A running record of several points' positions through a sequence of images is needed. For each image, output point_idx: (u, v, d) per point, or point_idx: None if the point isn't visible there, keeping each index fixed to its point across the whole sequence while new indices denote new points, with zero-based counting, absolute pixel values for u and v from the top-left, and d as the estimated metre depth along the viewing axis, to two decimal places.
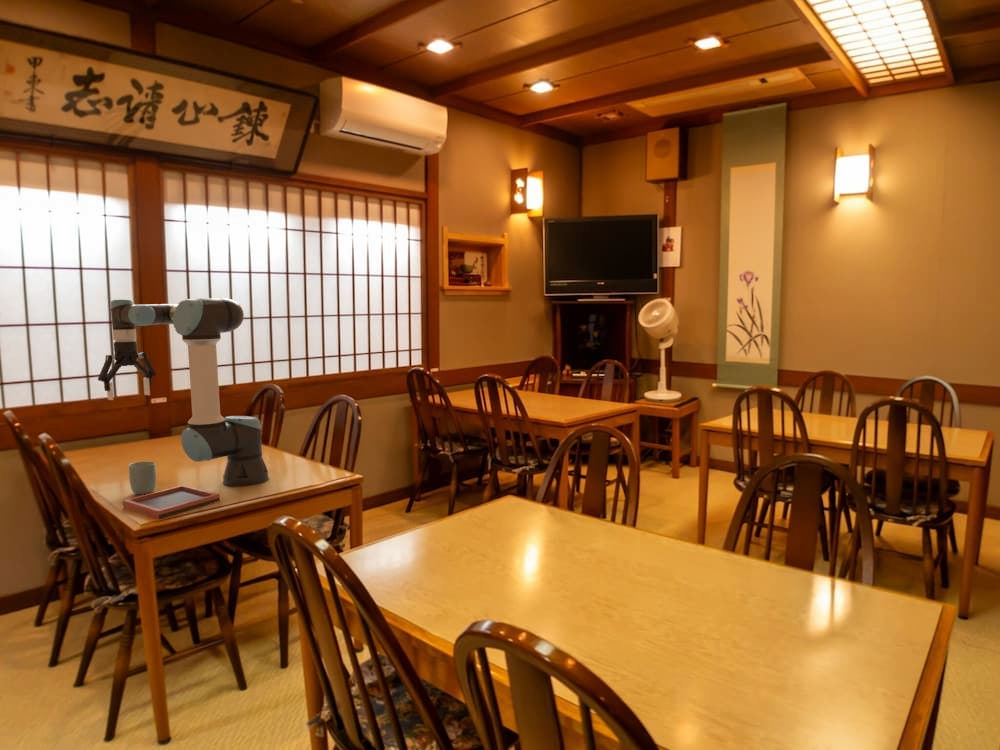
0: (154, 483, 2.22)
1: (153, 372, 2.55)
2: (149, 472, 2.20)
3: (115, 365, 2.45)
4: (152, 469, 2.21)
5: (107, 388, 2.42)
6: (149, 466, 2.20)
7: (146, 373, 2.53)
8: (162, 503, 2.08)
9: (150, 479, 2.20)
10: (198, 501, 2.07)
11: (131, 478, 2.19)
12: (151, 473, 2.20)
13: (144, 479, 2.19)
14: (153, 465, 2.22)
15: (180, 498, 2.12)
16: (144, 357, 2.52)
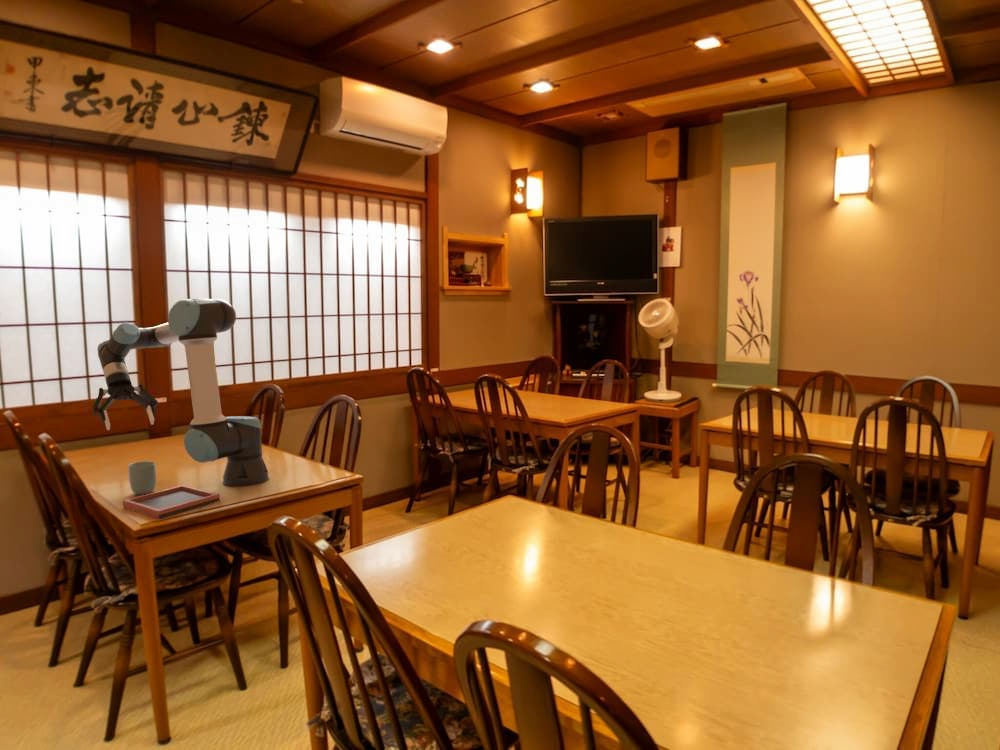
0: (154, 483, 2.22)
1: (154, 400, 2.37)
2: (149, 472, 2.20)
3: None
4: (152, 469, 2.21)
5: (102, 416, 2.24)
6: (149, 466, 2.20)
7: (146, 401, 2.35)
8: (162, 503, 2.08)
9: (150, 479, 2.20)
10: (198, 501, 2.07)
11: (131, 478, 2.19)
12: (151, 473, 2.20)
13: (144, 479, 2.19)
14: (153, 465, 2.22)
15: (180, 498, 2.12)
16: (141, 388, 2.38)
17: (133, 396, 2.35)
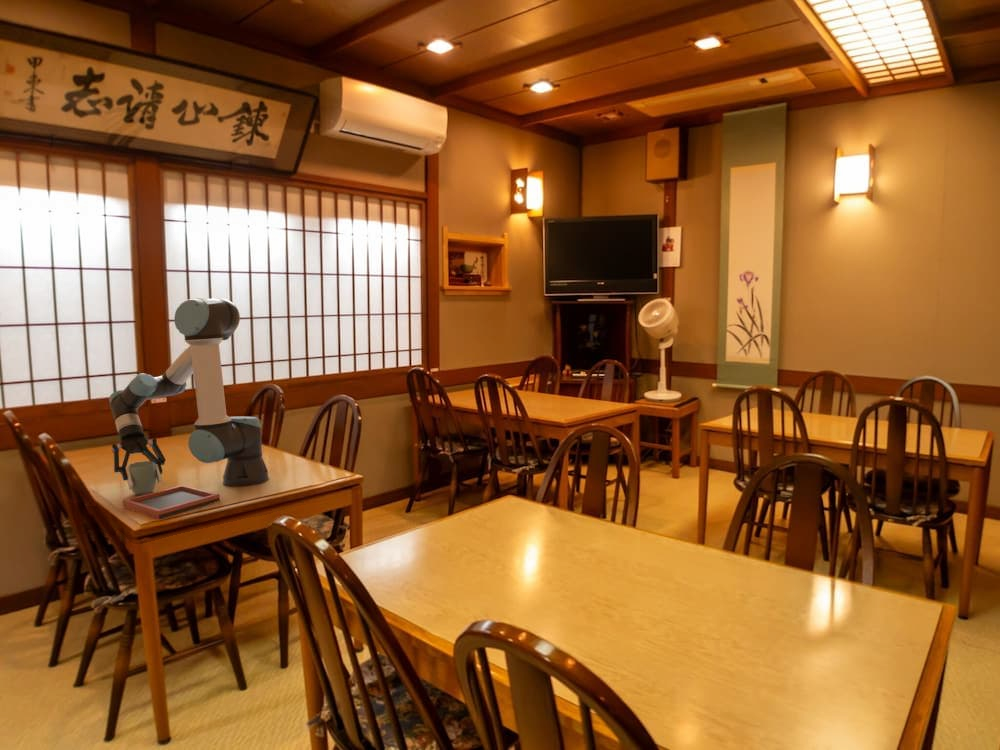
0: (154, 483, 2.22)
1: (162, 458, 2.27)
2: (148, 472, 2.20)
3: (125, 454, 2.23)
4: (152, 469, 2.21)
5: (124, 475, 2.18)
6: (149, 466, 2.20)
7: (154, 458, 2.26)
8: (162, 503, 2.08)
9: (150, 479, 2.20)
10: (198, 501, 2.07)
11: (131, 478, 2.19)
12: (151, 473, 2.20)
13: (144, 479, 2.19)
14: (153, 465, 2.22)
15: (180, 498, 2.12)
16: (154, 442, 2.29)
17: (144, 451, 2.26)
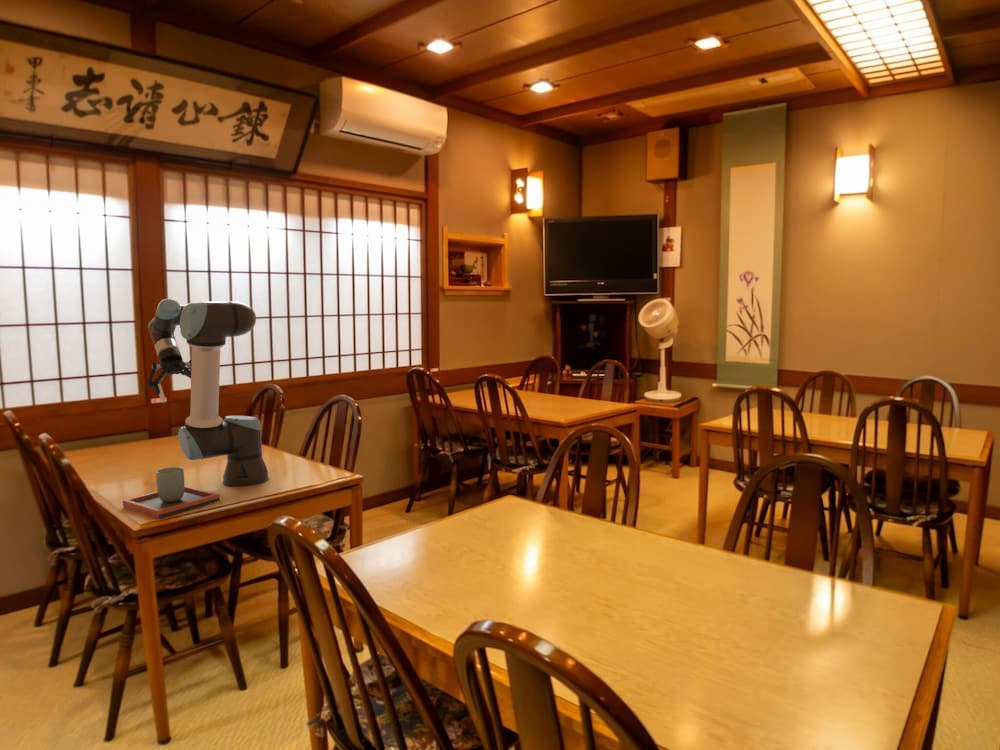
0: (182, 490, 2.09)
1: None
2: (177, 479, 2.07)
3: None
4: (181, 475, 2.08)
5: (156, 389, 2.31)
6: (178, 472, 2.07)
7: None
8: (162, 503, 2.08)
9: (179, 486, 2.08)
10: (198, 501, 2.07)
11: (159, 485, 2.06)
12: (179, 479, 2.08)
13: (172, 486, 2.06)
14: (182, 471, 2.09)
15: None
16: None
17: (184, 371, 2.41)
